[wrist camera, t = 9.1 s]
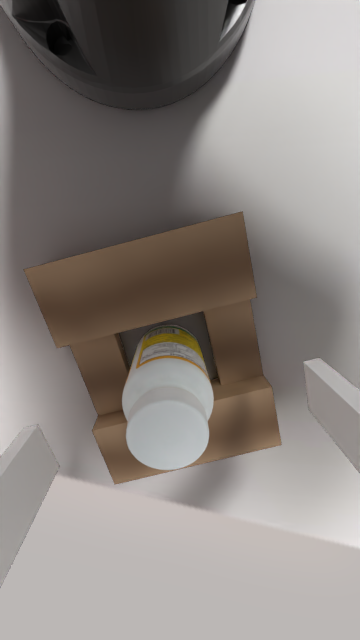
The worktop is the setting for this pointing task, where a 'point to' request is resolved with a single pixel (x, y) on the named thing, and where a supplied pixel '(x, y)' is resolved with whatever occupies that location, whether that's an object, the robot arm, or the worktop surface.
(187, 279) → the frame
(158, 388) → the supplement bottle
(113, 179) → the worktop surface
